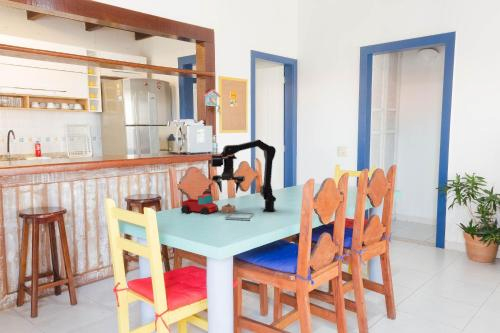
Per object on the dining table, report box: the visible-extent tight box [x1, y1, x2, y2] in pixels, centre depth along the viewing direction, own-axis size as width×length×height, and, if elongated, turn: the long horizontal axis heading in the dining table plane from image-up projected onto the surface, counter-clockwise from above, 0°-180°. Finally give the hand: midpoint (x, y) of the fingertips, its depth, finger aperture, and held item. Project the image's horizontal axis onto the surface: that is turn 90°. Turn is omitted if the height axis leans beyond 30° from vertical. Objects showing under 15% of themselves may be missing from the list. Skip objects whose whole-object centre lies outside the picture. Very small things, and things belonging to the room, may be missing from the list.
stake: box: [220, 203, 238, 214], centre depth 232 cm, size 10×10×5 cm
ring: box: [221, 204, 236, 214], centre depth 232 cm, size 8×7×3 cm
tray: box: [225, 211, 255, 222], centre depth 219 cm, size 14×14×2 cm
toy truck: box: [180, 193, 219, 216], centre depth 232 cm, size 12×20×11 cm, turn 61°
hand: (228, 192), depth 231 cm, fingers open, 9 cm apart
